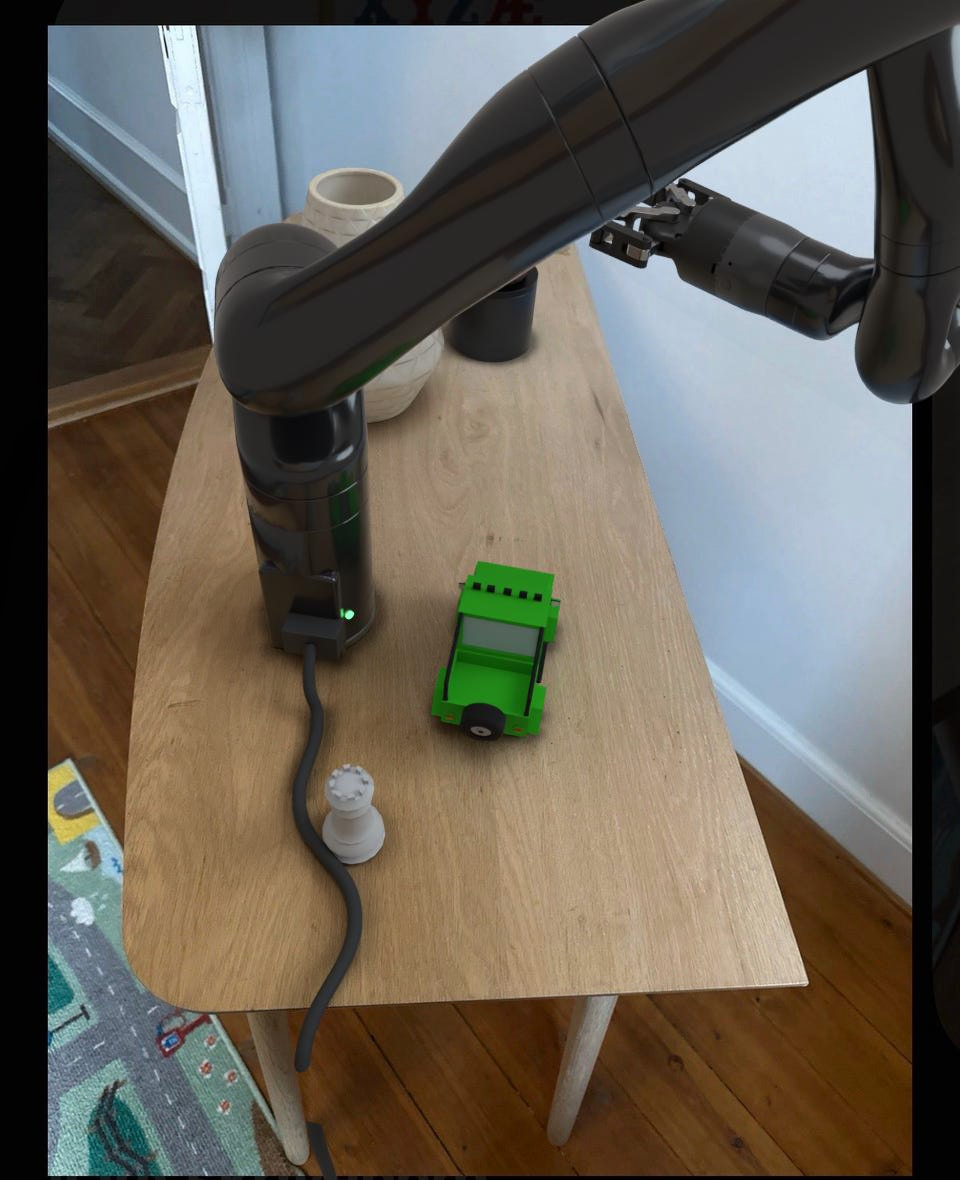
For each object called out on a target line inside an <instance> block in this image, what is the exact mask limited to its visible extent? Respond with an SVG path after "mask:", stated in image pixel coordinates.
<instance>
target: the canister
mask: <svg viewBox="0 0 960 1180" xmlns="http://www.w3.org/2000/svg"><path fill="white" fill-rule="evenodd" d="M538 281H539V270H538V268H537V265H536V266H535V267H533V268H532V269H530V270H529V271H528V274H527V275H526V276H525V277H524V278H523V279H522V280H521V281H519V282H517V283H513V284H506V285H505V286H503V287H502V288H500V289H499V290H497V291H496V292H494V293H492V294H491V295H489V296H487V297H486V298H484V299H482V300H481V301H479V302H477V303H476V304H474V305H473V306H471V307H470V308H468V309H466V310H465V311H463V312H462V313H460V314H459V315H457V316H456V317H454V318H453V319H451V320H450V321H449V328H448V330H449V331H448V339H449V342H450V344H451V346H452V348H454V349H455V350H456V351H457V352H458V353H460V354H461V355H463V356H465V357H467V358H469V359H473V360H477V361H480V362H481V361H482V362H487V363H488V362H489V363H490V362H491V363H498V362H499V363H500V362H506V361H510V360H514V359H516V358H519V357H520V356H523V354H525V353H526V352H527V350H528V349H529V347H530V345H531V338H532V330H533V321H534V313H535V305H536V297H537V290H538V289H537V288H538Z"/></svg>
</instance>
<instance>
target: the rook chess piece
mask: <svg viewBox="0 0 960 1180" xmlns="http://www.w3.org/2000/svg"><path fill="white" fill-rule="evenodd" d="M375 789H376V788H375V783H374V779H373V777H372V776H371V774H370V773H369V772H368V771H366V770H364V768H363V767H362V766H359V764H357V765H356V766H351V763H347V764H342V767H340V768H338V769H337V768H335V769H334V770H333V771H332V772H331V774H330V776H329V777H328V778H327V779H326V782H325V785H324V789H323V791H324V797H325V799H326V800H327V802H328V803H329V808H330V809H331V810H330V811H329V813H327V815H326V816H325V819H324V822H323V825H322V829H321V831H322V835H321V836H322V837H321V838H322V841H323V842H324V843H325V844H326V845H327V847H328V848H329V849H330V850H331V851H332V852H333V853H334V855H335V856H336V857H337V858H338V859H339V860H340V862H341V863H342V864H348V865H355V864H361V863H365V862H367V861H368V860H370V859H371V858H373V857H375V856H376V855H377V853H379V851H380V849H381V848H382V847H383V845H384V841H385V837H386V831H385V825H384V819H383V817H382V815H381V814H380V812H379V811H378V810H377V808H376V807H375V806H374V805H372V800H373V795H374V792H375Z"/></svg>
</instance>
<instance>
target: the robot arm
mask: <svg viewBox="0 0 960 1180" xmlns="http://www.w3.org/2000/svg"><path fill="white" fill-rule="evenodd" d="M862 72H865V74H866V81H867V89H868V91H867V92H868V98H869V99H868V101H869V109H870V111H869V112H870V122H871V123H870V124H871V132H872V133H871V135H872V136H871V137H872V149H873V151H872V153H873V179H874V180H873V183H874V189H873V190H874V193H873V194H874V197H873V200H874V202H873V257H861V256H856V255H852V254H850V253H847V252H845V251H844V250H841V249H839V248H836V247H833V246H831V245H829V244H827V243H824V242H822V241H820V240H818V239H815V238H812V237H810V236H809V235H807V234H804V233H803V232H801V231H800V230H798V229H797V228H795V227H793V226H791V225H790V224H788V223H785V222H783V221H781V220H778V219H776V218H774V217H772V216H770V215H767V214H765V213H762V212H760V211H758V210H755V209H753V208H750V207H748V206H745V205H743V204H741V203H739V202H736V201H733V200H732V199H731V198H730V197H728V196H726V195H724V194H722V193H720V192H717V191H715V190H713V189H711V188H708V187H707V186H704V185H702V184H699V183H698V182H695V181H693V180H691V179H689V178H686V177H682V176H684V175H686V174H688V173H689V172H691V171H692V170H694V169H695V168H697V167H699V166H700V165H701V164H703V163H705V162H706V161H708V160H710V159H711V158H714V157H715V156H717V155H718V154H719V153H721V152H723V151H726V150H727V149H729V148H730V147H732V146H734V145H735V144H737V143H739V142H740V141H742V140H744V139H745V138H747V137H748V136H751V135H753V134H754V133H756V132H757V131H759V130H760V129H762V128H764V127H766V126H768V125H769V124H771V123H773V122H774V121H776V120H778V119H779V118H781V117H783V116H784V115H786V114H787V113H789V112H791V111H792V110H794V109H796V108H797V107H799V106H801V105H803V104H804V103H806V102H808V101H809V100H811V99H812V98H815V97H816V96H818V95H820V94H822V93H823V92H825V91H828V90H829V89H832V88H833V87H836V86H837V85H838V84H841V83H842V82H844V81H846V80H848V79H850V78H852V77H854V76H857V75H858V74H860V73H862ZM677 180H678V181H677ZM675 181H677V183H675ZM689 193H692V194H693V195H694V198H691V197H690V196H689ZM405 197H406V198H405V199H404V200H403V201H402V202H401V203H400V204H399V205H398V206H397V207H396V208H395V209H394V210H392V211H391V212H390V213H389V214H388V215H386V216H385V217H384V218H383V219H382V220H380V221H379V222H378V223H376V224H375V225H373V226H372V227H371V228H369V229H368V230H367V231H365V232H364V233H362V234H360V235H359V236H357V237H356V238H354V239H352V240H351V241H349V242H348V243H346V244H344V245H343V246H341V247H340V248H338V247H337V246H336V245H335V244H334V243H333V242H332V241H330V240H329V239H328V238H326V237H325V236H324V235H322V234H320V233H319V232H317V231H315V230H313V229H311V228H308V227H305V226H302V225H301V224H298V223H291V222H273V223H267V224H264V225H260V226H258V227H255V228H253V229H250V230H248V232H247V231H246V232H245V233H244V234H243V235H242V236H240V237H239V238H237V240H236V241H234V243H232V245H230V247H229V248H228V250H227V251H226V252H225V254H224V255H223V257H222V259H221V261H220V263H219V266H218V269H217V272H216V277H215V281H214V282H215V283H214V307H213V348H214V355H215V357H214V358H215V363H216V366H217V369H218V373H219V376H220V379H221V381H222V383H223V386H224V387H225V389H226V390H227V392H228V393H229V394H230V396H231V402H232V413H233V424H234V435H235V444H236V449H237V454H238V460H239V466H240V472H241V476H242V477H241V478H242V482H243V487H244V494H245V499H246V501H245V502H246V506H247V511H248V518H249V523H250V528H251V533H252V539H253V540H252V541H253V546H254V550H255V557H256V562H257V567H258V578H259V583H260V584H259V585H260V589H261V595H262V601H263V606H264V611H265V612H264V613H265V617H266V618H265V619H266V623H267V628H268V632H269V634H268V635H269V638H270V644H271V647H274V648H279V649H284V652H285V653H291V654H297V655H303V657H302V688H303V694H304V695H303V696H304V697H305V700H306V702H307V706H308V708H309V711H310V729H309V736H308V740H307V744H306V747H305V749H304V752H303V755H302V757H301V760H300V763H299V765H298V767H297V770H296V773H295V777H294V780H293V785H292V790H291V806H292V807H291V809H292V813H293V814H292V815H293V818H294V821H295V825H296V827H297V829H298V831H299V834H300V835H301V837H302V839H303V840H304V842H305V843H306V844H307V846H308V848H309V849H310V850H311V851H312V853H313V854H314V855H315V856H316V857H317V859H319V861H320V862H321V863H322V864H323V865H324V867H325V868H326V869H327V871H328V872H329V873H330V874H331V875H332V876H333V878H334V879H335V881H336V883H337V885H338V886H339V888H340V891H341V892H342V895H343V898H344V902H345V905H346V913H347V924H346V925H347V926H346V933H345V937H344V940H343V944H342V946H341V949H340V951H339V954H338V956H337V957H336V960H335V962H334V963H333V965H332V967H331V968H330V970H329V972H328V974H327V976H326V977H325V979H324V980H323V982H322V984H321V986H320V987H319V989H318V991H317V993H316V995H315V996H314V998H313V1000H312V1002H311V1004H310V1006H309V1008H308V1010H307V1012H306V1013H305V1014H306V1015H305V1017H304V1019H303V1022H302V1025H301V1028H300V1030H299V1035H298V1038H297V1042H296V1047H295V1053H294V1060H293V1067H294V1070H295V1071H296V1072H298V1073H299V1074H303V1073H305V1072H307V1070H308V1069H309V1068H310V1067H311V1059H312V1052H313V1047H314V1046H313V1045H314V1042H315V1038H316V1035H317V1031H318V1028H319V1026H320V1024H321V1020H322V1018H323V1016H324V1014H325V1012H326V1011H327V1008H328V1006H329V1004H330V1002H331V1000H332V998H333V997H334V995H335V994H336V991H337V990H338V988H339V986H340V985H341V983H342V982H343V979H344V978H345V976H346V974H347V972H348V970H349V969H350V967H351V964H352V962H353V960H354V959H355V955H356V953H357V951H358V947H359V945H360V941H361V938H362V937H361V936H362V932H363V931H362V930H363V906H362V901H361V900H362V899H361V897H360V894H359V890H358V887H357V885H356V883H355V881H354V878H353V877H352V875H351V874H350V872H349V871H348V870H347V868H346V866H344V863H343V862H340V860H339V859H338V858H337V857H336V856H335V855H334V853H333V852H332V851H331V850H330V849H329V848H328V847H327V845H326V844H325V843H324V842H323V838H322V837H320V835H319V834H318V832H317V831H316V829H315V827H314V825H313V824H312V821H311V819H310V817H309V813H308V807H307V800H306V796H307V793H306V792H307V785H308V781H309V777H310V774H311V771H312V768H313V765H314V763H315V760H316V757H317V755H318V752H319V749H320V746H321V742H322V738H323V731H324V708H323V705H322V702H321V699H320V697H319V694H318V691H317V684H316V661H317V660H316V659H317V658H321V659H327V660H333V661H339V660H340V658H342V657H343V656H344V655H345V652H346V650H347V649H348V648H349V647H351V646H352V645H354V644H355V643H357V642H359V640H361V639H362V638H363V637H364V636H365V635H366V634H367V633H368V632H369V631H370V628H372V625H373V623H374V621H375V617H376V598H375V591H374V572H373V571H374V569H373V543H372V518H371V517H372V516H371V496H370V494H371V493H370V492H371V491H370V490H371V489H370V487H371V485H370V466H369V465H370V463H369V460H370V459H369V431H368V423H367V419H366V409H365V398H364V386H365V385H366V384H368V383H369V382H370V381H372V380H373V379H374V378H375V377H377V376H378V375H379V374H381V373H382V372H383V371H384V370H386V369H387V368H388V367H390V366H391V365H392V364H394V363H395V362H396V361H397V360H399V359H400V358H401V357H403V356H404V355H405V354H406V353H408V352H409V351H410V350H412V349H413V348H414V347H415V346H417V345H418V344H419V343H421V342H422V341H423V340H424V339H426V338H427V337H428V336H430V335H431V334H432V333H434V332H435V331H436V330H438V329H439V328H440V327H441V328H442V327H443V326H444V325H446V324H447V323H450V320H451V319H453V318H454V317H456V316H457V315H459V314H460V313H462V312H463V311H465V310H466V309H468V308H470V307H471V306H473V305H474V304H476V303H477V302H479V301H481V300H482V299H484V298H486V297H487V296H489V295H491V294H492V293H494V292H496V291H497V290H499V289H500V288H502V287H503V286H505V285H506V284H508V283H510V282H511V281H513V280H515V279H516V278H518V277H519V276H521V275H522V274H524V273H525V272H527V271H529V270H530V269H532V268H533V267H535V266H536V267H537V265H539V264H541V263H543V262H545V261H546V260H547V259H549V258H551V257H552V256H553V255H555V254H557V253H558V252H560V251H561V250H563V249H565V248H567V247H569V246H571V245H572V244H574V243H575V242H577V241H579V240H581V239H583V238H584V237H587V236H588V235H590V239H589V242H588V246H589V248H591V249H593V250H595V251H597V252H601V253H602V254H605V255H607V256H609V257H611V258H613V259H616V260H618V261H620V262H622V263H625V264H627V265H629V266H632V267H634V268H637V269H641V270H642V269H643V270H644V269H646V268H647V266H648V263H649V259H650V258H651V257H653V256H654V255H655V256H658V257H661V258H662V257H663V258H666V259H670V260H672V261H673V263H674V266H675V268H676V274H677V275H678V277H679V279H680V280H681V281H682V282H683V283H686V284H688V285H690V286H692V287H694V288H697V289H698V290H701V291H703V292H705V293H707V294H709V295H710V296H713V297H715V298H717V299H719V300H721V301H723V302H726V303H728V304H730V305H732V306H734V307H736V308H739V309H740V310H742V311H746V312H748V313H751V314H754V315H759V316H761V317H764V318H766V319H769V320H771V321H772V322H774V323H776V324H779V325H781V326H783V327H785V328H787V329H789V330H792V331H793V332H796V333H798V334H800V335H802V336H804V337H807V338H809V339H811V340H814V341H820V342H824V341H829V340H831V339H833V338H835V337H836V336H838V335H840V334H841V333H842V332H844V331H847V329H849V328H852V327H853V326H854V325H857V327H856V328H857V329H856V333H855V339H854V349H853V350H854V362H855V367H856V370H857V373H858V376H859V378H860V380H861V381H862V383H863V385H864V386H865V388H866V389H867V390H868V391H869V392H870V393H871V394H872V395H874V396H875V397H877V398H878V399H880V400H882V401H883V402H884V401H885V402H886V403H890V404H893V405H911V404H915V403H919V402H922V401H924V400H926V399H927V398H929V397H930V396H933V394H935V393H936V392H937V391H938V390H940V388H941V387H942V386H943V385H944V384H945V383H946V382H947V380H948V379H949V378H950V377H951V376H952V374H953V373H954V371H955V370H956V369H957V368H958V367H959V366H960V0H642V1H639V2H637V3H635V4H632V5H630V6H626V7H624V8H621V9H619V10H617V11H615V12H613V13H611V14H609V15H606V16H604V17H603V18H601V19H599V20H598V21H596V22H594V23H592V24H590V25H589V26H587V27H586V28H584V29H582V30H581V31H580V32H578V33H577V34H576V35H573V36H572V37H570V38H569V39H568V40H566V41H565V42H564V43H562V44H560V45H559V46H557V47H556V48H555V49H553V50H552V51H550V52H549V53H547V54H545V55H544V56H543V57H542V58H540V59H539V60H537V61H536V62H534V63H533V64H531V65H530V66H528V67H527V68H526V69H524V70H523V71H521V72H520V73H518V74H517V75H515V76H514V77H513V78H512V79H511V80H509V81H508V82H507V83H505V84H504V85H503V86H502V87H501V88H499V90H497V91H496V92H495V93H494V94H493V95H492V96H491V97H490V98H488V100H487V101H486V102H485V103H484V104H483V105H482V106H481V107H480V108H479V109H478V111H477V112H476V113H475V114H474V115H473V116H472V117H471V118H470V120H469V121H468V122H467V123H466V124H465V125H464V127H463V128H462V129H461V130H460V131H459V133H457V135H456V136H455V138H454V139H453V140H452V141H451V143H450V144H449V145H448V146H447V148H445V150H444V151H443V152H442V154H441V155H440V156H439V157H438V159H437V160H436V161H435V162H434V163H433V165H432V166H431V167H430V168H429V170H428V171H427V172H426V174H425V175H424V176H423V177H422V179H420V181H419V182H418V183H417V184H416V186H415V187H414V188H413V189H412V190H411V191H410V192H409V194H408V195H406V196H405ZM640 204H644V205H646V206H640ZM638 219H640V220H639V225H638V231H637V230H635V229H634V227H635V222H636V221H637V220H638ZM616 221H617V222H616ZM619 222H624V225H623V224H622V223H619ZM305 1124H306V1125H305V1126H306V1130H307V1133H308V1139H309V1142H310V1145H311V1149H312V1152H313V1154H314V1157H315V1159H316V1162H317V1165H318V1167H319V1169H320V1171H321V1174H322V1177H323V1180H338V1176H337V1172H336V1168H335V1166H334V1163H333V1159H332V1157H331V1154H330V1152H329V1147H328V1145H327V1140H326V1137H325V1131H324V1126H323V1124H322V1123H317V1122H313V1121H310V1120H309V1121H308V1120H305Z"/></svg>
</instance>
